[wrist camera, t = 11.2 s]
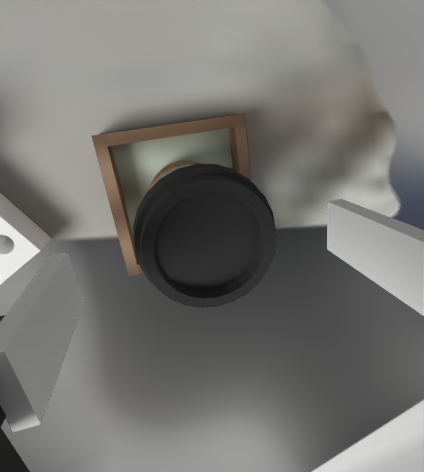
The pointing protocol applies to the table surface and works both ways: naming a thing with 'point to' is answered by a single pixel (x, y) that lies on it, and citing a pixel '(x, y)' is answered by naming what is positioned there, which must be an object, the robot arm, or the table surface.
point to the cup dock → (162, 163)
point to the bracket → (17, 238)
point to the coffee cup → (203, 234)
